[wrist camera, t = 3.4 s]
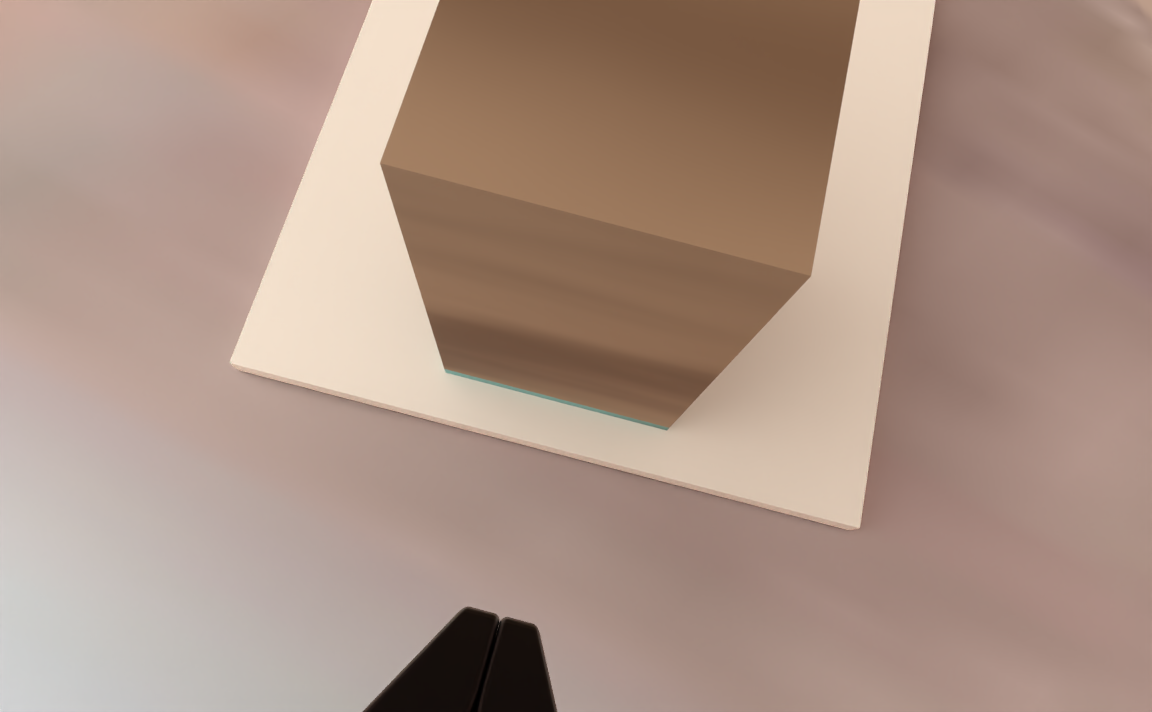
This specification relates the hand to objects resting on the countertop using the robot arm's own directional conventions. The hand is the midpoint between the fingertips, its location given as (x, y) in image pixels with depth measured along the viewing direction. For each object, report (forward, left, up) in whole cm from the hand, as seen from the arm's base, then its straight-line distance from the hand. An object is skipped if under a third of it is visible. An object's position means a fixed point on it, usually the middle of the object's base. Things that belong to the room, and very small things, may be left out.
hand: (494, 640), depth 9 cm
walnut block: (+5, -5, -8) cm, 11 cm away
